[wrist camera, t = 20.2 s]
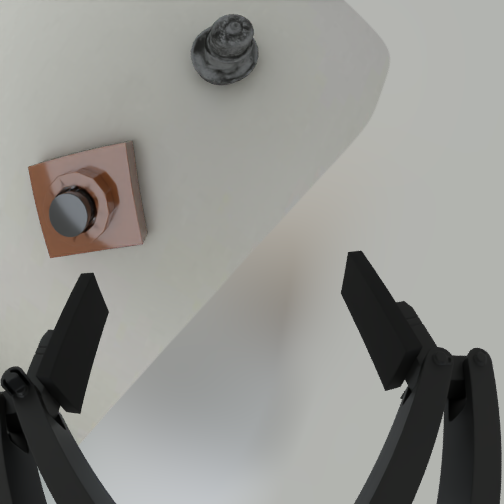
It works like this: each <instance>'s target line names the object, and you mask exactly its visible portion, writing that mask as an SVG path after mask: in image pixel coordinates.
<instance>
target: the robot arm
mask: <svg viewBox="0 0 504 504" xmlns="http://www.w3.org/2000/svg"><path fill="white" fill-rule="evenodd" d="M341 294H342V296H343V299H344V301H345V303H346V305H347V307H348V309H349V311H350V313H351V315H352V317H353V320H354V322H355V324H356V326H357V328H358V330H359V332H360V334H361V337H362V339H363V341H364V343H365V345H366V348H367V350H368V352H369V354H370V357H371V359H372V361H373V363H374V365H375V368H376V370H377V372H378V375H379V377H380V379H381V382H382V384H383V386H384V389H385V391H387V390H390V389H394V388H398V387H400V386H401V385H402V383H403V381H404V380H406V382H407V384H408V387H407V389H406V390H405V391H404V393H403V395H402V396H401V399H402V402H401V404H400V407H399V410H398V412H397V415H396V418H395V420H394V423H393V425H392V428H391V430H390V432H389V435H388V437H387V439H386V442H385V444H384V446H383V448H382V450H381V453H380V455H379V457H378V459H377V461H376V463H375V465H374V467H373V470H372V471H371V473H370V475H369V477H368V479H367V481H366V483H365V485H364V487H363V489H362V491H361V492H360V494H359V496H358V498H357V500H356V501H355V503H354V504H412V502H413V500H414V497H415V495H416V493H417V490H418V487H419V485H420V483H421V480H422V478H423V475H424V473H425V470H426V467H427V464H428V462H429V459H430V456H431V453H432V450H433V447H434V443H435V440H436V437H437V433H438V430H439V427H440V423H441V419H442V416H443V412H444V433H443V452H442V465H441V476H440V484H439V493H438V499H437V504H500V493H501V432H500V419H499V418H500V417H499V407H498V399H497V391H496V384H495V378H494V371H493V366H492V360H491V358H490V356H489V354H488V353H487V352H486V351H484V350H483V349H480V348H473V349H472V350H470V352H469V353H468V355H467V356H452V355H451V354H450V353H449V352H448V351H447V350H446V349H444V348H440V347H437V346H436V344H435V342H434V341H433V339H432V337H431V336H430V334H429V333H428V332H427V329H426V328H425V326H424V325H423V324H422V322H421V320H420V319H419V318H418V315H417V314H416V312H415V311H414V309H413V308H412V307H411V306H410V305H408V304H407V303H406V302H405V301H402V302H395V300H394V299H393V297H392V296H391V294H390V293H389V291H388V289H387V288H386V286H385V285H384V283H383V282H382V280H381V279H380V277H379V276H378V274H377V273H376V271H375V270H374V268H373V267H372V265H371V264H370V262H369V261H368V260H367V258H366V257H365V255H364V254H363V252H362V251H355V252H348V256H347V262H346V269H345V274H344V279H343V285H342V290H341ZM108 313H109V311H108V309H107V306H106V304H105V301H104V299H103V297H102V294H101V292H100V289H99V286H98V284H97V281H96V279H95V276H94V273H84V274H81V275H80V277H79V279H78V281H77V283H76V285H75V287H74V288H73V290H72V292H71V294H70V297H69V299H68V301H67V303H66V305H65V307H64V309H63V311H62V313H61V315H60V318H59V320H58V322H57V324H56V326H55V329H54V330H48V331H47V332H46V333H45V335H44V336H43V337H42V339H41V341H40V343H39V345H38V348H37V350H36V352H35V353H36V354H35V355H34V357H33V360H32V362H31V365H30V367H29V370H28V372H27V375H26V374H25V372H24V371H23V370H22V369H21V368H20V367H11V368H9V369H8V370H6V371H5V373H4V374H3V376H2V378H1V386H2V387H3V388H4V389H5V390H6V391H4V392H0V504H47V502H46V499H45V495H44V492H43V488H42V485H41V481H40V477H39V473H38V468H39V470H40V473H41V475H42V477H43V479H44V481H45V483H46V485H47V487H48V489H49V491H50V492H51V494H52V496H53V498H54V500H55V502H56V503H57V504H116V503H115V502H114V500H113V499H112V498H111V496H110V495H109V494H108V492H107V491H106V490H105V488H104V486H103V485H102V483H101V482H100V481H99V479H98V478H97V476H96V474H95V473H94V472H93V470H92V468H91V467H90V465H89V463H88V462H87V460H86V459H85V457H84V455H83V454H82V452H81V450H80V449H79V447H78V445H77V443H76V441H75V440H74V438H73V436H72V434H71V432H70V430H69V429H68V427H67V425H66V423H65V421H64V419H63V417H62V415H61V414H60V413H59V408H60V405H61V407H62V408H63V409H64V410H65V411H66V412H71V413H78V414H80V413H81V408H82V404H83V400H84V396H85V392H86V388H87V384H88V380H89V376H90V372H91V369H92V365H93V362H94V358H95V355H96V351H97V348H98V344H99V341H100V338H101V335H102V331H103V328H104V325H105V322H106V319H107V316H108ZM37 466H38V468H37Z"/></svg>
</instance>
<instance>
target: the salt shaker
mask: <svg viewBox="0 0 504 504" xmlns="http://www.w3.org/2000/svg"><path fill="white" fill-rule="evenodd" d="M253 35H254V29H253V26H252V24H251V23H250V21H249V20H248V19H246V18H245V17H243V16H241V15H236V14H229V15H225V16H223V17H221V18H219V19H218V20H217V21H216V22H215V23H214V24H213V26H211V27H209V28H207V29H206V30H204V31H203V32H201V33H200V34H199V35H198V36H197V38H196V39H195V41H194V42H193V45H192V49H191V60H192V63H193V66H194V68H195V69H196V70H197V72H198V73H199V75H200V76H201V77H202V78H203V79H204V80H206V81H207V82H210V83H212V84H216V85H227V84H231V83H234V82H236V81H239V80H241V79H243V78H244V77H246V76H247V75H248V74H249V73H250V72H251V71H252V70H253V69H254V67H255V65H256V64H257V60H258V47H257V44H256V41H255V40H254V38H253Z"/></svg>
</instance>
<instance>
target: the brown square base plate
mask: <svg viewBox="0 0 504 504" xmlns="http://www.w3.org/2000/svg"><path fill="white" fill-rule="evenodd" d="M28 169H29V175H30V180H31V185H32V190H33V195H34V199H35V204H36V208H37V212H38V216H39V220H40V224H41V228H42V232H43V235H44V239H45V242H46V246H47V249H48V252H49V255H50V258H54V257H61V256H67V255H73V254H80V253H86V252H93V251H100V250H106V249H113V248H120V247H127V246H134V245H141V244H143V243H144V240H145V238H146V236H147V228H146V223H145V218H144V212H143V207H142V201H141V195H140V189H139V183H138V176H137V170H136V163H135V155H134V148H133V141H132V140H131V141H126V142H121V143H116V144H111V145H107V146H102V147H98V148H93V149H89V150H85V151H81V152H77V153H73V154H69V155H65V156H62V157H58V158H54V159H51V160H47V161H44V162H41V163H38V164H35V165H32V166H29V167H28ZM71 188H79V189H82V190H84V191H85V192H86V193H88V195H89V196H90V197H91V199H92V201H93V203H94V208H95V213H94V218H93V220H92V222H91V223H90V225H89V226H88V227H87V228H86V229H85V230H84V231H83V232H82V233H81V234H79V235H78V236H75V237H65V236H63V235H61V234H59V233H58V232H57V231H56V230H55V229H54V228H53V226H52V224H51V222H50V219H49V208H50V205H51V203H52V201H53V199H54V198H55V197H56V196H58V195H59V194H61V193H63V192H64V191H66V190H68V189H71Z"/></svg>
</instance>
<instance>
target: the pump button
mask: <svg viewBox="0 0 504 504" xmlns="http://www.w3.org/2000/svg"><path fill="white" fill-rule="evenodd" d="M94 213H95V208H94V203H93V201H92V199H91V197H90V196H89V195H88V193H86V192H85V191H84V190H82V189H79V188H71V189H68V190H66V191H64V192H63V193H61V194H59V195H58V196H56V197H55V198H54V199H53V201H52V203H51V205H50V208H49V219H50V222H51V224H52V226H53V228H54V229H55V230H56V231H57V232H58V233H59V234H61V235H63V236H65V237H75V236H78V235H79V234H81V233H82V232H83V231H84V230H85V229H86V228H87V227H88V226H89V225H90V223H91V222H92V220H93V218H94Z"/></svg>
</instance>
